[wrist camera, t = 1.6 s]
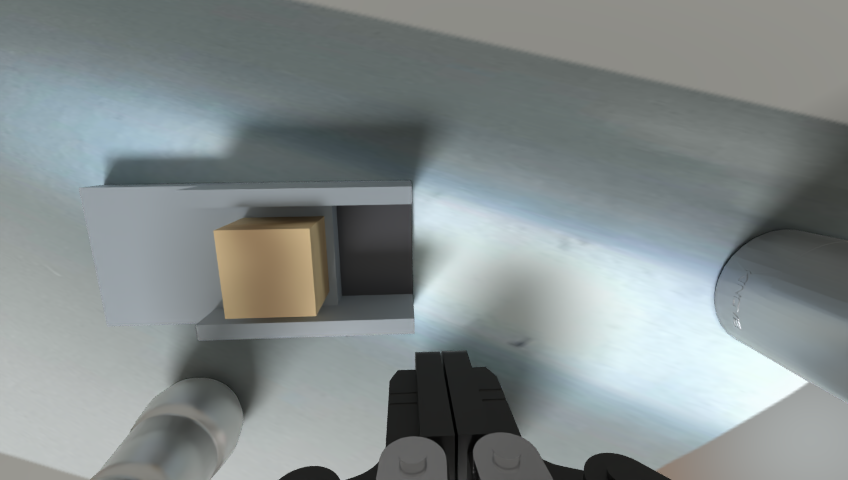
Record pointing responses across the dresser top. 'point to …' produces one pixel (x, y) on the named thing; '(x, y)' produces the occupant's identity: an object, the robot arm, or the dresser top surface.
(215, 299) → the grey angular piece
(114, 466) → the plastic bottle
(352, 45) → the dresser top surface
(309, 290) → the oak block
